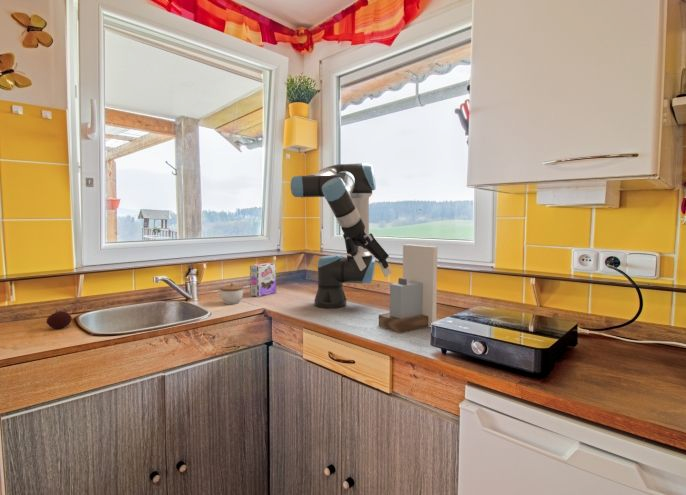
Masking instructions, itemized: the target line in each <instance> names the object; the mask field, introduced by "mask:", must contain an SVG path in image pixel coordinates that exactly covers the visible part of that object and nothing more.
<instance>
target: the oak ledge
mask: <svg viewBox="0 0 686 495" xmlns="http://www.w3.org/2000/svg"><path fill="white" fill-rule="evenodd" d="M378 326H380V327H382V328H385V329H388V330H391V331H393V332H396V333H398V334H403V333H408V332H411V331H417V330H420V329H426V328H429V327H428V316H426V315H418V316H413V317H408V318H403V319H399V318H396V317H393V316H390V312H387V313H381V314H378Z"/></svg>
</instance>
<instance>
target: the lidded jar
mask: <svg viewBox="0 0 686 495" xmlns="http://www.w3.org/2000/svg"><path fill="white" fill-rule="evenodd" d="M219 290H220V291H219V292H220V297H221V300H222V302H224V303H225V305H226V304H227V305H237V304H239V303H240V301H241V300H242V299H243V297H244V286H243V285H240V284H234V283H232V282H231V283H230V285H223V286H221V287H219Z"/></svg>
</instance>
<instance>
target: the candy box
mask: <svg viewBox="0 0 686 495" xmlns="http://www.w3.org/2000/svg"><path fill="white" fill-rule="evenodd" d="M276 266H277V264H276V263H274V262H273V263H272V262H266V263H265V262H264V263H258V264H250V265H249V270H250V271H249V273H250V274H249V283H250V285H249V286H250V288H249V289H250V296H251V297H256V298H259V297H260V298H261V297H265V296H270V295H273V294H277V267H276Z"/></svg>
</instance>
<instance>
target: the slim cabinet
mask: <svg viewBox="0 0 686 495" xmlns="http://www.w3.org/2000/svg"><path fill="white" fill-rule="evenodd" d="M422 300H423V283H419V282H414V281H408V282H407V279H403V277H402V278H401V277H399V278H398V282H393V283H390V284H389V313H390V316H393V317H396V318H399V319H403V318H408V317H413V316H418V315H422Z"/></svg>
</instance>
